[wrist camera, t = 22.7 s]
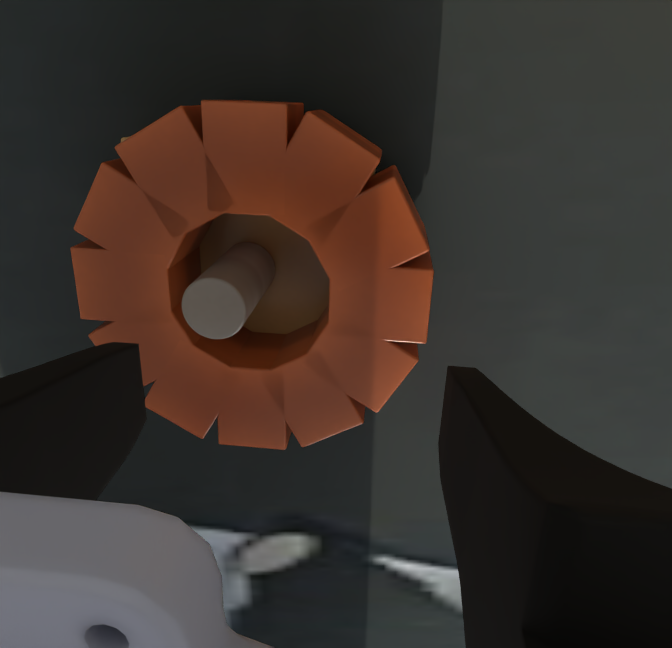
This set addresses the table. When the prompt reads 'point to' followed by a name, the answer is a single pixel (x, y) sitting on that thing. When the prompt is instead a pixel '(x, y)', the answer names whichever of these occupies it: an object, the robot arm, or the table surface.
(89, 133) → the table surface
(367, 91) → the table surface
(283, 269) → the rack
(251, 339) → the ring
